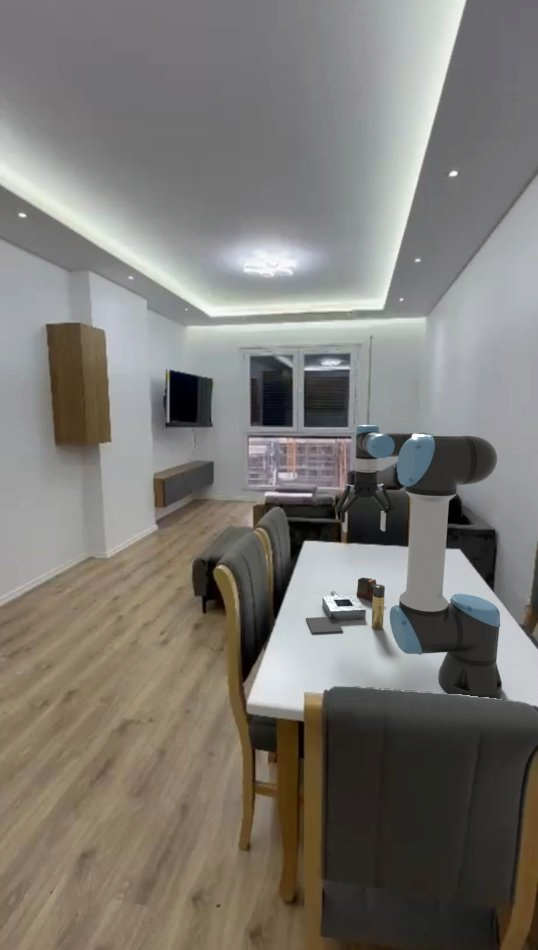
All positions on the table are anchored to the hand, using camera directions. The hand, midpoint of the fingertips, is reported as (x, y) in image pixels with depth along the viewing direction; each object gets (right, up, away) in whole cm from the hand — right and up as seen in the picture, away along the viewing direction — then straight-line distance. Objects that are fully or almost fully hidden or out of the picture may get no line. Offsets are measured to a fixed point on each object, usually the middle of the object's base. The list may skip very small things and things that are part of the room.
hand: (363, 530), depth 165 cm
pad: (-15, -30, -10) cm, 35 cm away
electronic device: (+5, -27, +11) cm, 29 cm away
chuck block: (-8, -28, +3) cm, 29 cm away
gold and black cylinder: (+2, -30, -11) cm, 32 cm away
